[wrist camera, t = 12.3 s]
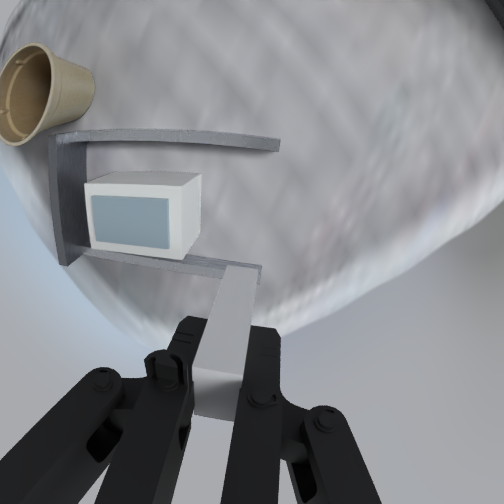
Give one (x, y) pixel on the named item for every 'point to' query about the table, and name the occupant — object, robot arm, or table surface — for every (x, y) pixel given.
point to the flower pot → (40, 93)
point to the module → (144, 212)
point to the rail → (74, 204)
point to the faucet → (497, 9)
